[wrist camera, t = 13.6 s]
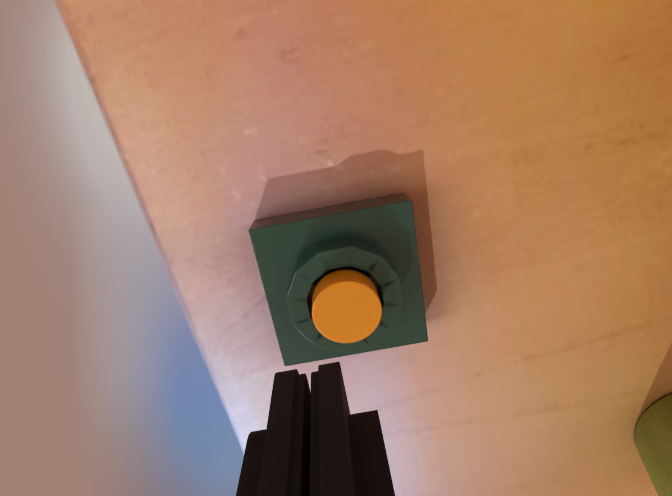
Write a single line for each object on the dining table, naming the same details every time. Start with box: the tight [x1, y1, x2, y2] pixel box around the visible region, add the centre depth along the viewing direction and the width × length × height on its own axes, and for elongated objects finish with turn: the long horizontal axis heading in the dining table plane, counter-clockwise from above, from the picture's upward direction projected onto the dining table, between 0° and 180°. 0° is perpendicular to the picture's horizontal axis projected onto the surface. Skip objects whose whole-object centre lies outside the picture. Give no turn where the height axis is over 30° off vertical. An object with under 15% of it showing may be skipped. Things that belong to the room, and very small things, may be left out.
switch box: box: [249, 193, 428, 366], centre depth 25 cm, size 10×10×4 cm
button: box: [312, 270, 382, 343], centre depth 23 cm, size 4×4×2 cm
